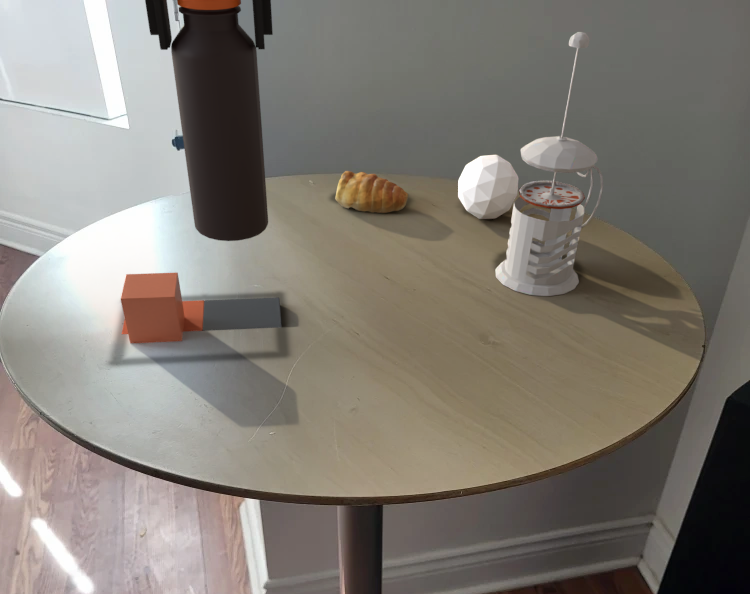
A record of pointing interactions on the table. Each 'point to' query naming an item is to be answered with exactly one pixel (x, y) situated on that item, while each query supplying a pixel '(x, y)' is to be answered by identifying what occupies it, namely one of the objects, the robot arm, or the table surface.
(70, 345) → the table surface
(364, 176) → the pastry
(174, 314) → the terracotta block
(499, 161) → the geometric ball
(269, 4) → the robot arm
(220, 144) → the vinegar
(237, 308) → the mat
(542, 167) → the french press
